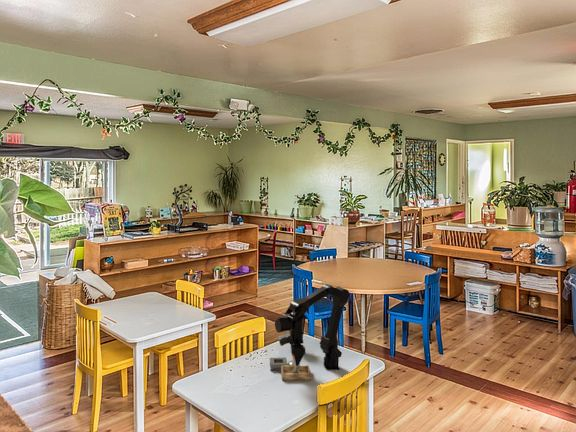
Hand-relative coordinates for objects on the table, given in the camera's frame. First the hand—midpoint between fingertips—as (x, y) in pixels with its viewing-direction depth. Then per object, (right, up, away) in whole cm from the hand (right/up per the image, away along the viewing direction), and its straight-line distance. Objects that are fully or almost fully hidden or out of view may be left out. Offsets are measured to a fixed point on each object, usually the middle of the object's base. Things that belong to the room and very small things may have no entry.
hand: (296, 361), depth 205 cm
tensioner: (-5, -6, +10) cm, 13 cm away
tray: (0, -7, +1) cm, 7 cm away
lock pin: (0, -6, +1) cm, 6 cm away
